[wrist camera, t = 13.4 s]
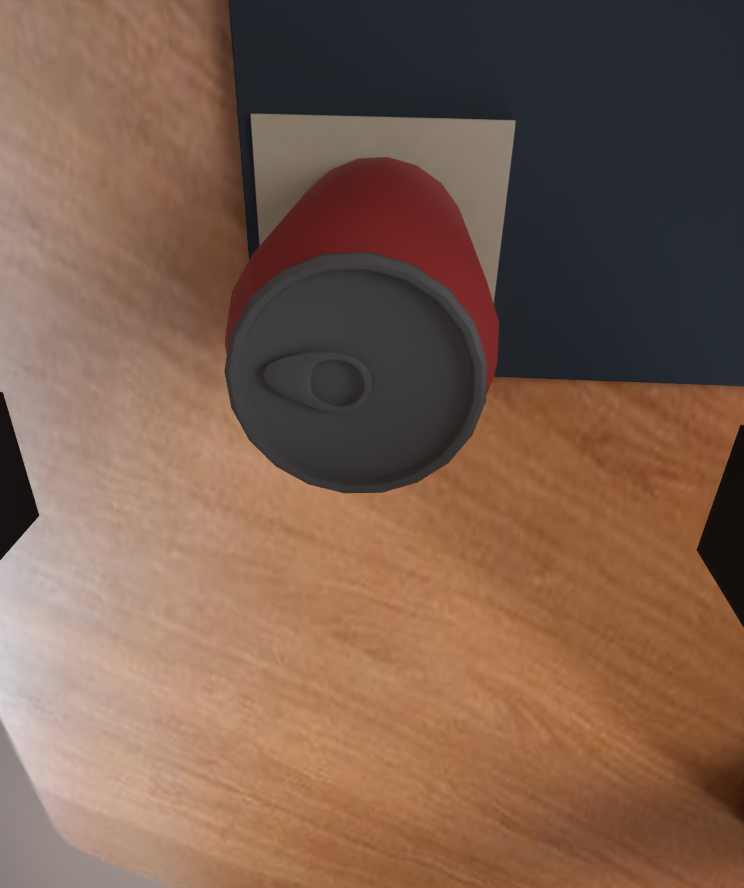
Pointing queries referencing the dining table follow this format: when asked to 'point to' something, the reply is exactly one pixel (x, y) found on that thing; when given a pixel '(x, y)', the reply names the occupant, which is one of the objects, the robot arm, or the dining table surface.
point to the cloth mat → (531, 159)
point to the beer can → (363, 332)
